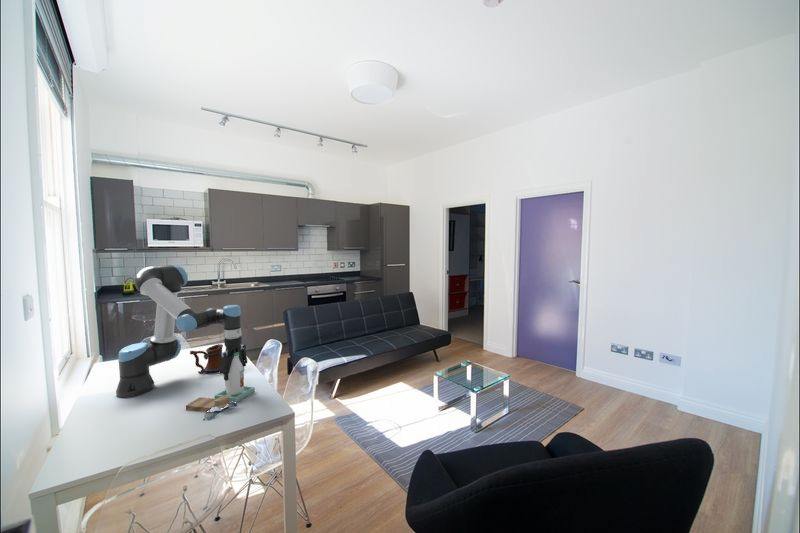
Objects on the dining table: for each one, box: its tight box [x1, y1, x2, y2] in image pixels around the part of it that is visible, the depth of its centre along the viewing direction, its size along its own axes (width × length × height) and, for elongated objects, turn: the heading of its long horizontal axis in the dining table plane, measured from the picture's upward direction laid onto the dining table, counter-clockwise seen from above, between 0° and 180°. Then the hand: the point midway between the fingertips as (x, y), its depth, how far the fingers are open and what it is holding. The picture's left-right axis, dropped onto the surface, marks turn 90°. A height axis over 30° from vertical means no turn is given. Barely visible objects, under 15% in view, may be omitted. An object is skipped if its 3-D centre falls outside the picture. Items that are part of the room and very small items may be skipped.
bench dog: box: [214, 396, 230, 408], centre depth 144 cm, size 3×5×5 cm, turn 164°
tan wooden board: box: [185, 396, 216, 413], centre depth 146 cm, size 14×8×2 cm, turn 80°
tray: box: [214, 385, 256, 404], centre depth 156 cm, size 12×12×2 cm
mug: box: [189, 343, 224, 375], centre depth 187 cm, size 18×12×15 cm, turn 129°
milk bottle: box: [225, 352, 245, 395], centre depth 156 cm, size 8×8×20 cm
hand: (234, 382), depth 156 cm, fingers closed on milk bottle, 8 cm apart
